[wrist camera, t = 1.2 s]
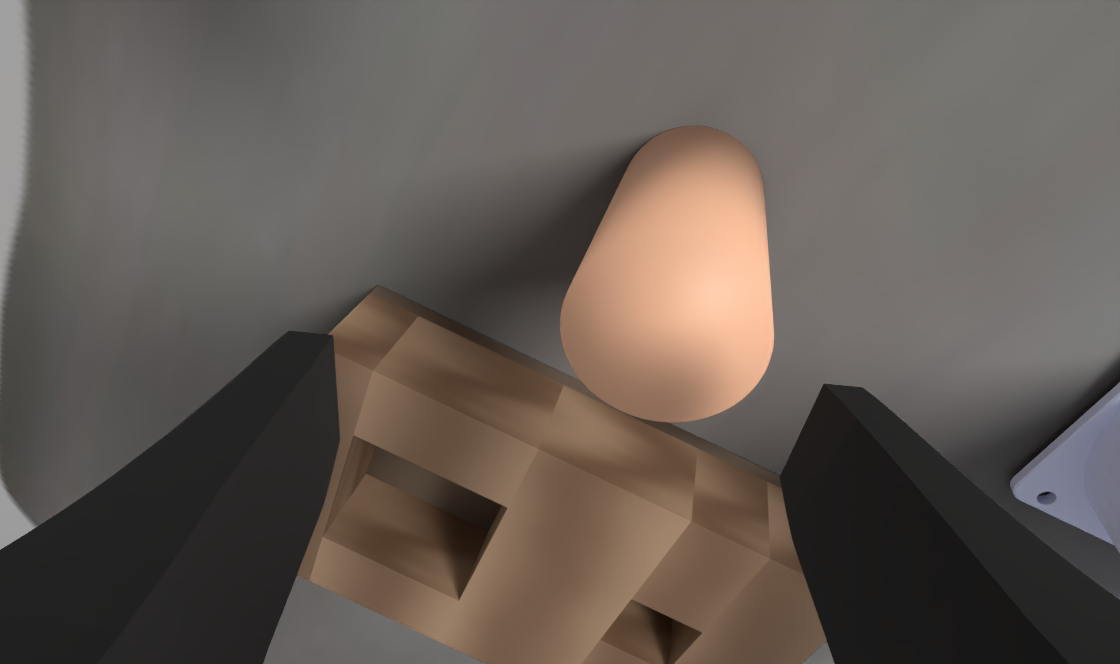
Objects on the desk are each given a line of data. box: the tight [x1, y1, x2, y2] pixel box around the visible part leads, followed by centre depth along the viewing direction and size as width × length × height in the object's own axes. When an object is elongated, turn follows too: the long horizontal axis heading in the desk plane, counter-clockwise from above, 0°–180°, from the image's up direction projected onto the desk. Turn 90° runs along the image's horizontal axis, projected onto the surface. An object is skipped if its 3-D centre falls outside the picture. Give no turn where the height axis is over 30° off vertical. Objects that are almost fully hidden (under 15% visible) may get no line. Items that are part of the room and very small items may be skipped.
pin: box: [560, 126, 774, 422], centre depth 16 cm, size 4×4×8 cm
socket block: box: [297, 285, 827, 664], centre depth 25 cm, size 18×11×4 cm, turn 67°
